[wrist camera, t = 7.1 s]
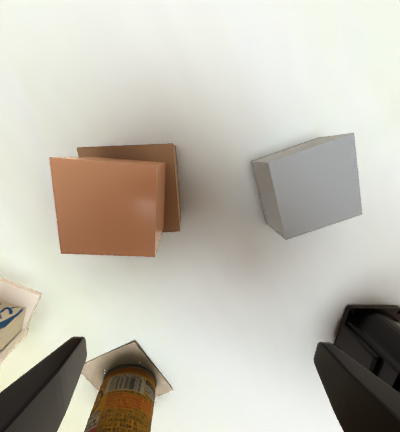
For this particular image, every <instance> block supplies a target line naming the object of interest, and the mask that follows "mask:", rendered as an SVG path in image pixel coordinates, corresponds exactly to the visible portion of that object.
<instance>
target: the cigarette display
mask: <svg viewBox="0 0 400 432" xmlns="http://www.w3.org/2000/svg"><path fill="white" fill-rule="evenodd" d="M41 295H42V293H39V292H37V291H34V290H32V289H29V288H26V287H24V286H21V285H19V284H16V283H13V282H11V281H8V280H6V279H3V278H1V277H0V364H1V363H2V362H3V360H4V359H5V358H6V357H7V356H8V355H9V354H10V353H11V352H12V350H13V349H14V348H15V347H16V346H17V345H18V344H19V343H20V341H21V340H22V339H23V338H24V337H25V336H26V334H27V332H28V329H29V328H27V326H28V324H29V322H30V319H31V317H32V315H33V313H34V311H35V308H36V306H37V304H38V302H39V300H40V297H41Z"/></svg>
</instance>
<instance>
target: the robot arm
mask: <svg viewBox="0 0 400 432" xmlns="http://www.w3.org/2000/svg"><path fill="white" fill-rule="evenodd" d="M86 357H87V350H86V340H85V338H84V337H72V338H70V339H69V340H68V341H66V342H65V343H64V344H63V345H61V346H60V347H59V348H57V349H56V350H55V351H54V352H52V353H51V354H50V355H48V356H47V357H46V358H44V359H43V360H42V361H41V362H39V363H38V364H37V365H35V366H34V367H33V368H32V369H30V370H29V371H28V372H26V373H25V374H24V375H22V376H21V377H20V378H19V379H17V380H16V381H15V382H13V383H12V384H11V385H10V386H8V387H7V388H6V389H4V390H3V391H2V392H0V432H57V430H58V428H59V426H60V424H61V422H62V420H63V418H64V415H65V413H66V411H67V408H68V406H69V403H70V401H71V398H72V395H73V393H74V390H75V387H76V385H77V382H78V380H79V377H80V374H81V372H82V369H83V366H84V364H85V361H86ZM314 363H315V366H316V369H317V371H318V374H319V376H320V379H321V381H322V384H323V386H324V389H325V391H326V394H327V396H328V398H329V401H330V403H331V406H332V408H333V410H334V413H335V415H336V417H337V419H338V421H339V423H340V425H341V427H342V429H343V431H344V432H400V307H399V306H348V307H347V308H346V310H345V314H344V317H343V320H342V323H341V326H340V329H339V333H338V336H337V339H336V342H335V345H333V344H331V343H329V342H319V343H318V345H317V348H316V352H315V355H314Z"/></svg>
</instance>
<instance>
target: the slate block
mask: <svg viewBox="0 0 400 432" xmlns="http://www.w3.org/2000/svg"><path fill="white" fill-rule="evenodd" d="M251 163H252V167H253V171H254V175H255V179H256V183H257V187H258V191H259V195H260V199H261V203H262V207H263V211H264V214H265V218H266V222H267V224H268V225H269V226H270V227H271V228H272V229H274V230H275V231H276V232H277V233H278V234H279V235H281V236H282V237H283V238H284V239H285V240H287V239H290V238H293V237H296V236H299V235H302V234H305V233H308V232H311V231H314V230H317V229H320V228H323V227H326V226H329V225H332V224H335V223H337V222H340V221H343V220H346V219H349V218H352V217H355V216H358V215H361V214H362V207H361V197H360V187H359V178H358V168H357V158H356V148H355V138H354V133H350V134H342V135H335V136H328V137H320V138H316V139H313V140H311V141H308V142H305V143H302V144H299V145H296V146H294V147H291V148H288V149H285V150H282V151H279V152H276V153H274V154H271V155H268V156H265V157H262V158H259V159H257V160H254V161H251Z"/></svg>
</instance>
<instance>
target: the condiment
mask: <svg viewBox="0 0 400 432" xmlns="http://www.w3.org/2000/svg"><path fill="white" fill-rule="evenodd" d="M139 362H140V363H139ZM104 369H106V370H105V371H104ZM104 372H105V374H104ZM81 374H83V375H84V376H85V377H86V379H87V380H88V381H90V382H91V384H92V385H93V386H94V387H95V388H96V389H97V390H99V392H98V395H97V398H96V401H95V403H94V406H93V409H92V411H91V414H90V417H89V419H88V423H87V425H86V428H85V430H84V432H150V430H151V422H152V415H153V407H154V400H155V397H156V396H160V395H163V394H165V393H167V392H170V391H172V390H173V389H172V388H171V387H170V385H169V384H168V383H167V381H166V380H165V379H164V378H163V376H162V375H161V373H160V372H159V371H158V370H157V369H156V368H155V366H154V365H153V364H152V363H151V362H150V360H149V359H148V358H147V357H146V355H145V354H144V353H143V351H141V350H140V349H139V347H138V346H137V345H136V343H135V342H133V343H130V344H128V345H125V346H122V347H120V348H118V349H116V350H113V351H111V352H108V353H106V354H104V355H101V356H99V357H98V358H96V359H94V360H92V361H89V362H87V363H85V364H84V366H83V369H82V372H81Z"/></svg>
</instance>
